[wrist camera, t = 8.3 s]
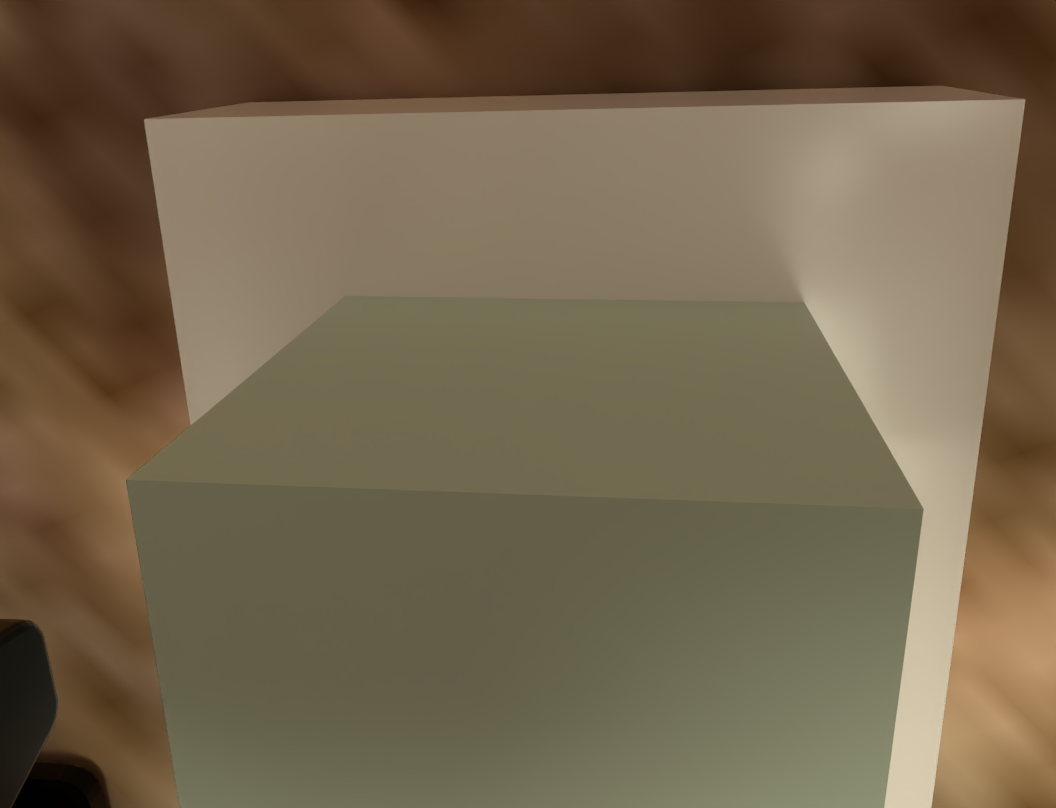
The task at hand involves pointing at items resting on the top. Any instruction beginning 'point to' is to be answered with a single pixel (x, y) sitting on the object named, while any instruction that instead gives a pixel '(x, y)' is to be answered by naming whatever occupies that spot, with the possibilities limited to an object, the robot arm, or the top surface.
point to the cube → (532, 564)
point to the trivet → (633, 253)
